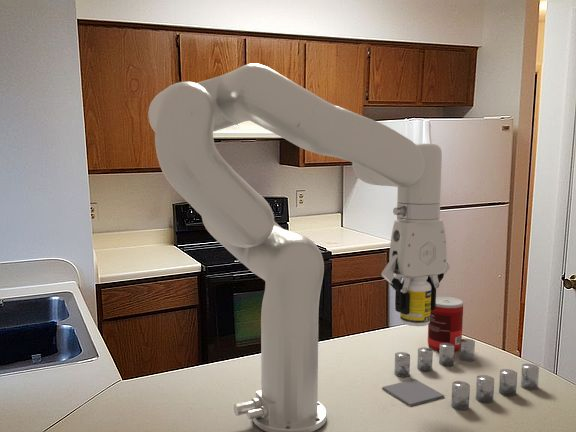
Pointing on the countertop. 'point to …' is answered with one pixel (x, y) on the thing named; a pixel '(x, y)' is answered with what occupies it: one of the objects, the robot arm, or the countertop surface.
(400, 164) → the robot arm
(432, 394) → the mat
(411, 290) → the supplement bottle
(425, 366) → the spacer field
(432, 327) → the canned food
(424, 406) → the countertop surface
